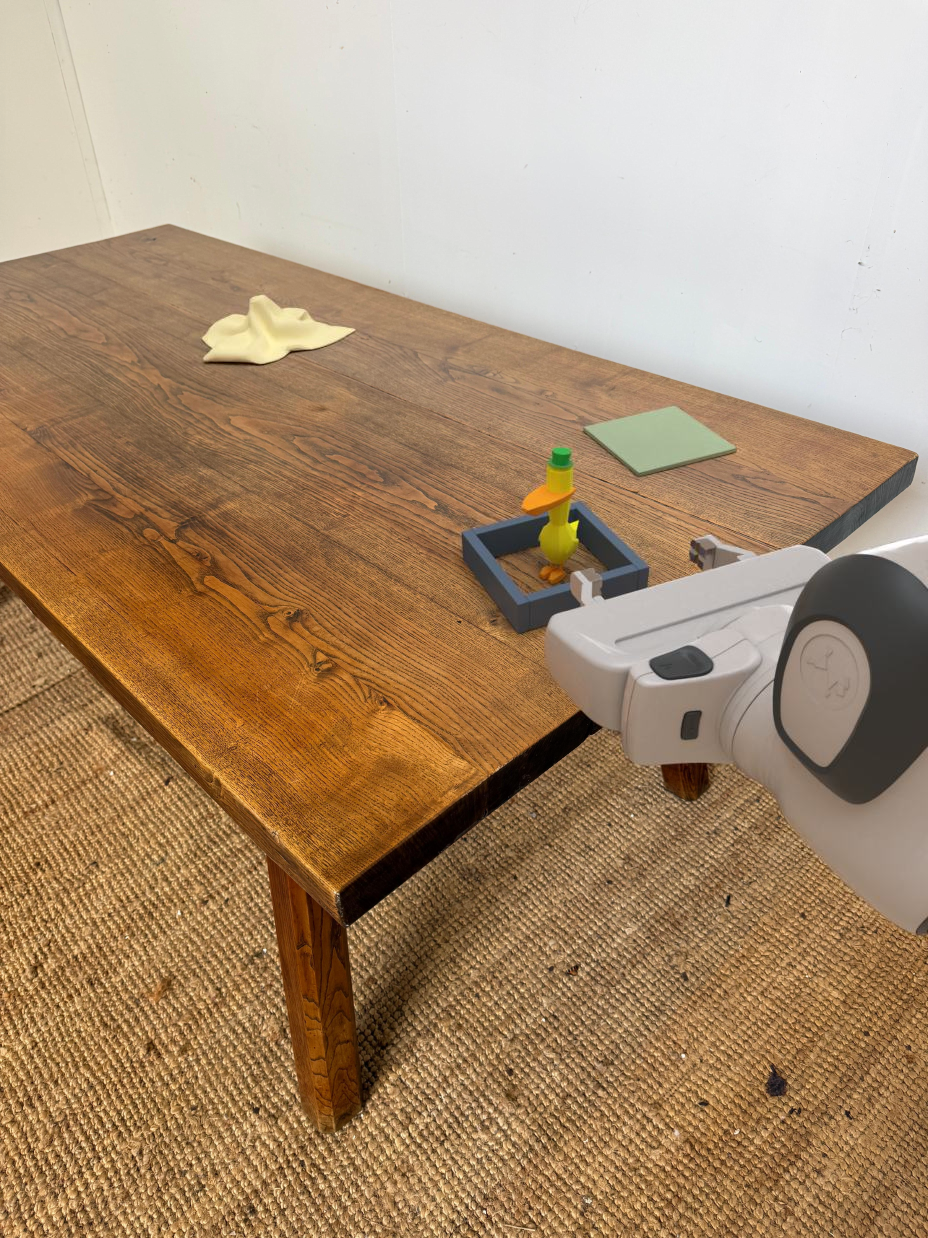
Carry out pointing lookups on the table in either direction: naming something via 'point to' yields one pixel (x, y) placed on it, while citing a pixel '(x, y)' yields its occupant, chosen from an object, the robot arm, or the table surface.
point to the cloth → (267, 333)
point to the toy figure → (555, 513)
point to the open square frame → (543, 604)
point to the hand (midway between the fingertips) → (640, 561)
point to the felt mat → (658, 440)
